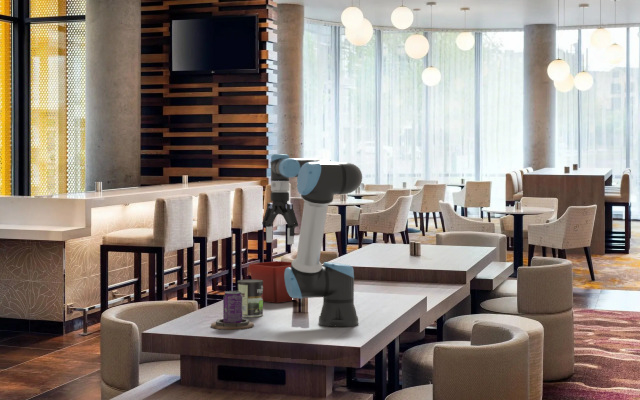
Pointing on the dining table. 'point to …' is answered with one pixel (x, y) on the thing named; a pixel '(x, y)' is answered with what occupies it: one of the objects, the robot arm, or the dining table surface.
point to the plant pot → (272, 280)
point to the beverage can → (232, 307)
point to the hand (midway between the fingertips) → (279, 243)
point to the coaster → (232, 325)
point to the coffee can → (251, 297)
